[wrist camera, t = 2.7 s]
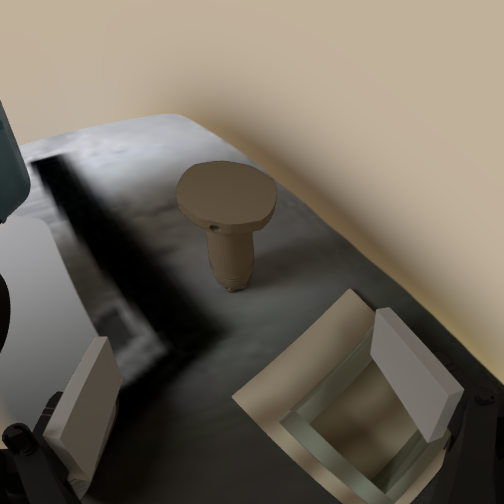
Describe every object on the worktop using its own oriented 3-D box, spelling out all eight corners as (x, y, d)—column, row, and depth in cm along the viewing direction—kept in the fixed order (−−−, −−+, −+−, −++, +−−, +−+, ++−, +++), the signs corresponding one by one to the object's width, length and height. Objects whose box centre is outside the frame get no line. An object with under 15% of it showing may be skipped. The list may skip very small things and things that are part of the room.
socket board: (231, 396, 28) (228, 395, 23) (347, 291, 33) (363, 270, 28) (376, 529, 21) (397, 546, 16) (470, 419, 26) (500, 417, 21)
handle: (258, 308, 32) (267, 233, 19) (197, 292, 33) (164, 211, 19) (269, 265, 34) (283, 172, 21) (211, 251, 35) (191, 155, 21)
